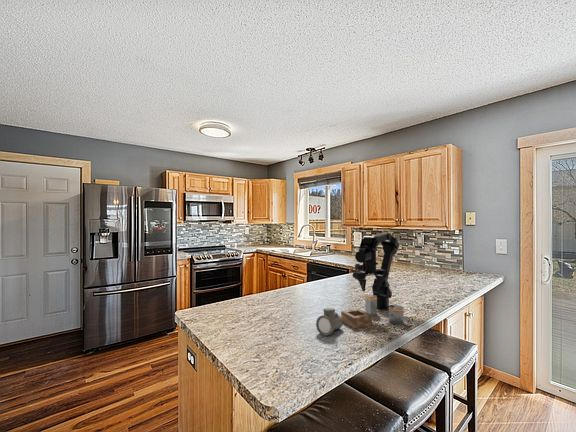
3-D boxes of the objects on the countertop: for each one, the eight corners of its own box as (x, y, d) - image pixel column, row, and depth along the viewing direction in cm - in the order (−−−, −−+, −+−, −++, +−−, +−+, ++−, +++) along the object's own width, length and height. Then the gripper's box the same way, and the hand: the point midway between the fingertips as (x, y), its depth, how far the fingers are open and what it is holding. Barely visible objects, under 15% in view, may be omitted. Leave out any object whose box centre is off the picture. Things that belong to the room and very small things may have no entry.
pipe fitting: (331, 337, 112) (331, 311, 114) (315, 334, 118) (315, 309, 119) (346, 332, 121) (346, 308, 123) (331, 329, 126) (330, 305, 128)
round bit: (396, 318, 135) (396, 304, 135) (407, 323, 129) (406, 308, 129) (385, 320, 132) (385, 305, 132) (396, 325, 126) (395, 310, 126)
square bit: (371, 311, 145) (371, 294, 145) (377, 314, 141) (376, 296, 141) (365, 312, 143) (365, 295, 144) (370, 315, 140) (370, 297, 140)
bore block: (358, 317, 136) (358, 308, 136) (372, 324, 127) (372, 315, 127) (341, 320, 132) (341, 311, 132) (354, 328, 123) (354, 318, 123)
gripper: (374, 256, 153) (374, 284, 153) (346, 259, 146) (346, 288, 146) (388, 259, 143) (389, 289, 143) (359, 262, 136) (359, 294, 136)
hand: (370, 290), depth 142 cm, fingers open, 9 cm apart
